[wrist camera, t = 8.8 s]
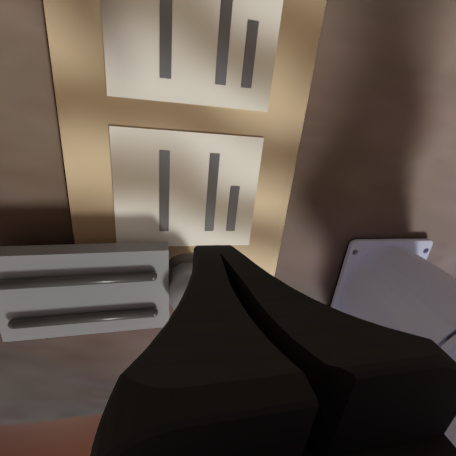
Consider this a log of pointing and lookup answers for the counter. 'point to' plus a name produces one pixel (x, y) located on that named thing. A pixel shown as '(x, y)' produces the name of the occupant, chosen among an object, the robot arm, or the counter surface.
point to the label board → (182, 118)
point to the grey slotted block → (87, 288)
